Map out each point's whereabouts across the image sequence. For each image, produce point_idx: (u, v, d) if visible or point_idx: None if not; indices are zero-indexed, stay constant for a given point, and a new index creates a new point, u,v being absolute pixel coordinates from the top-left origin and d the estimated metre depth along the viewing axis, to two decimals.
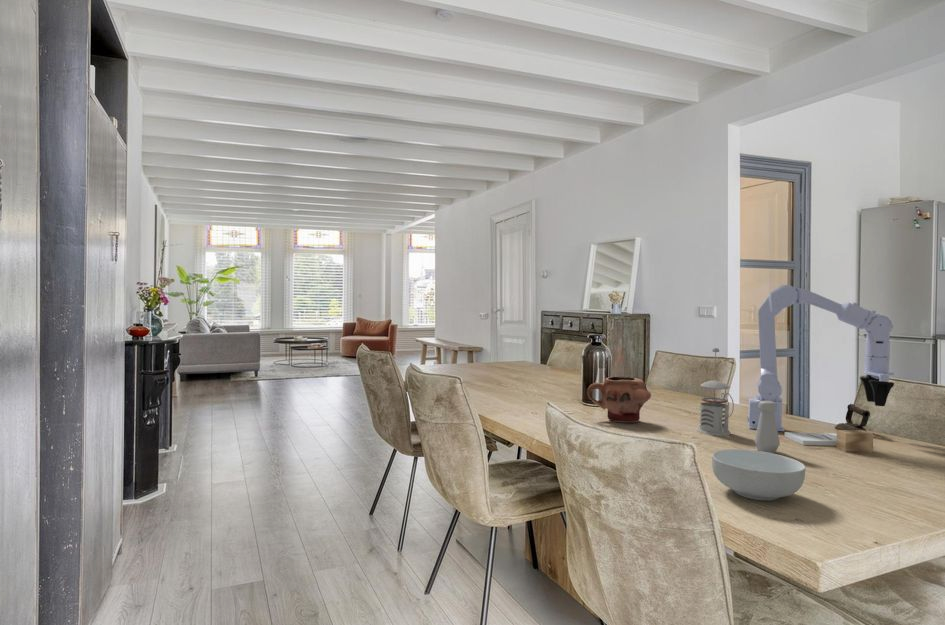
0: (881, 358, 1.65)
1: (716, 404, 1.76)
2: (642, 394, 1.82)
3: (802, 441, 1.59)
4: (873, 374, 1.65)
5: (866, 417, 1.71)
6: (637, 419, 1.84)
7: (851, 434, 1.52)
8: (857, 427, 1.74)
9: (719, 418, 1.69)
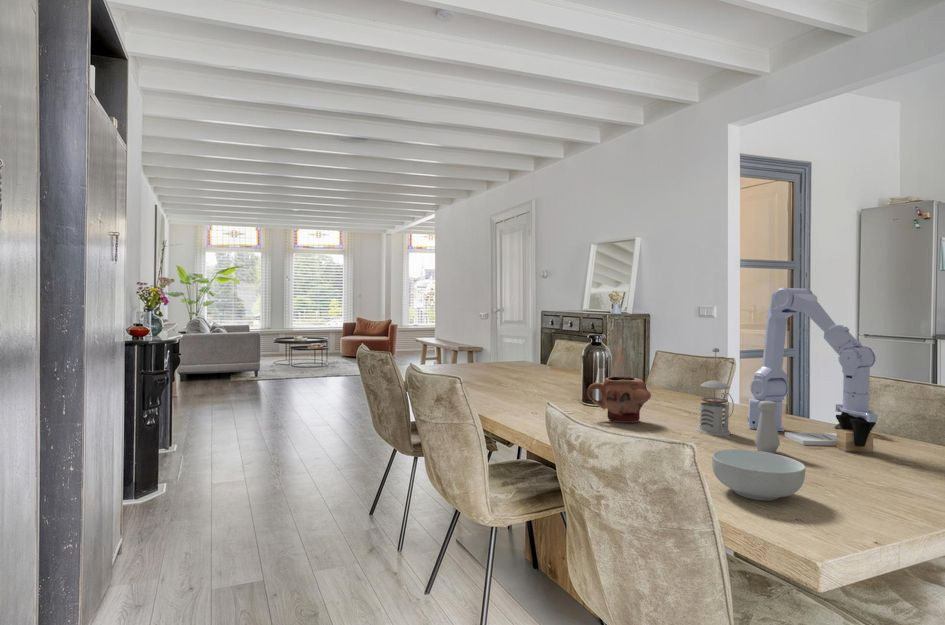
0: (863, 395, 1.51)
1: (716, 404, 1.76)
2: (642, 394, 1.82)
3: (802, 441, 1.59)
4: (857, 413, 1.50)
5: None
6: (637, 419, 1.84)
7: (851, 434, 1.52)
8: None
9: (719, 418, 1.69)
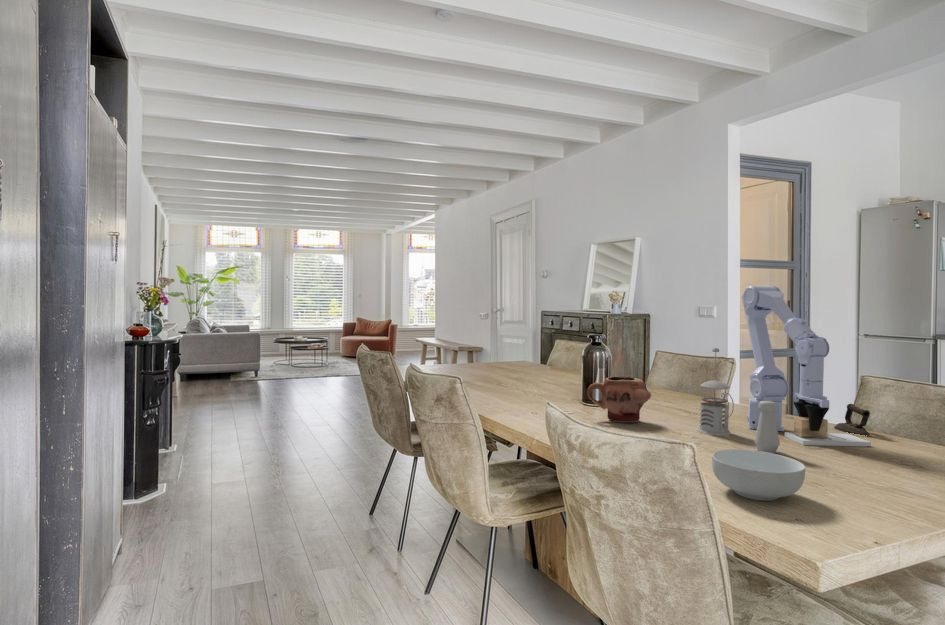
0: (818, 382, 1.60)
1: (716, 404, 1.76)
2: (642, 394, 1.82)
3: (802, 441, 1.59)
4: (812, 399, 1.59)
5: (866, 417, 1.71)
6: (637, 419, 1.84)
7: (807, 420, 1.62)
8: (857, 427, 1.74)
9: (719, 418, 1.69)
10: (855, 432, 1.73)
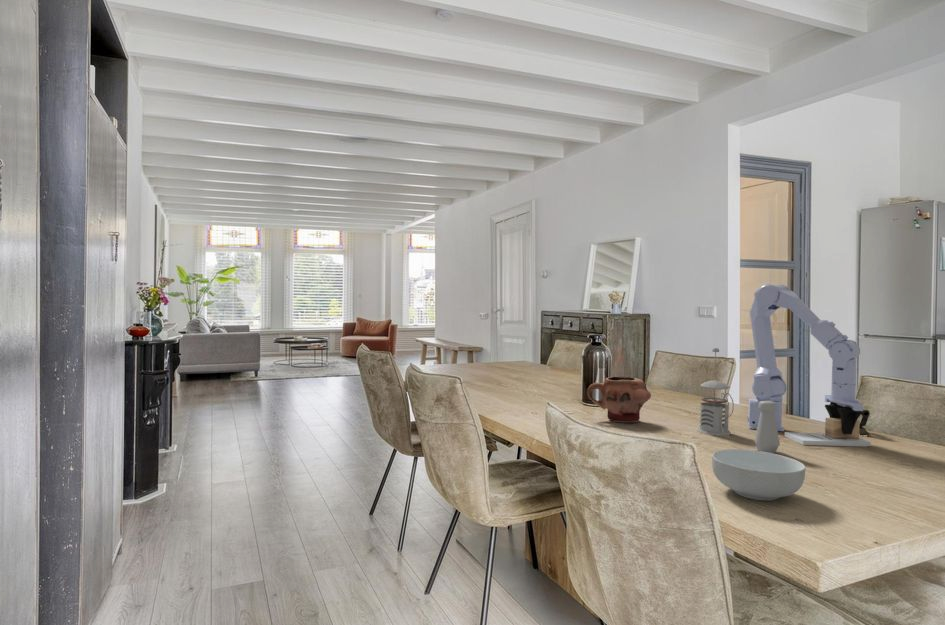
0: (850, 386, 1.60)
1: (716, 404, 1.76)
2: (642, 394, 1.82)
3: (802, 441, 1.59)
4: (845, 403, 1.59)
5: (866, 417, 1.72)
6: (637, 419, 1.84)
7: (839, 421, 1.61)
8: None
9: (719, 418, 1.69)
10: None
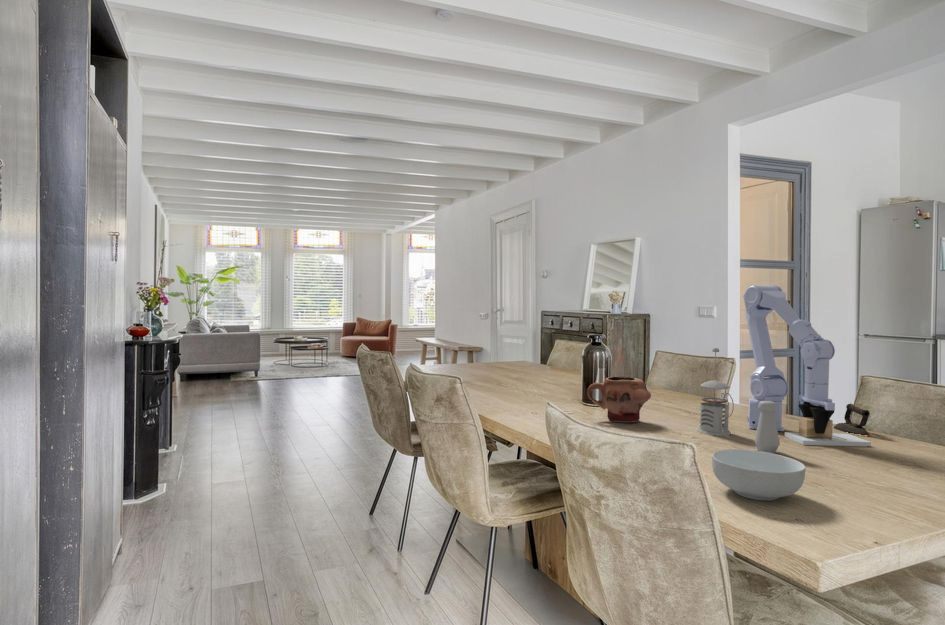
0: (823, 385, 1.60)
1: (716, 404, 1.76)
2: (642, 394, 1.82)
3: (802, 441, 1.59)
4: (817, 402, 1.59)
5: (866, 417, 1.72)
6: (637, 419, 1.84)
7: (812, 421, 1.62)
8: (857, 427, 1.74)
9: (719, 418, 1.69)
10: (855, 432, 1.73)
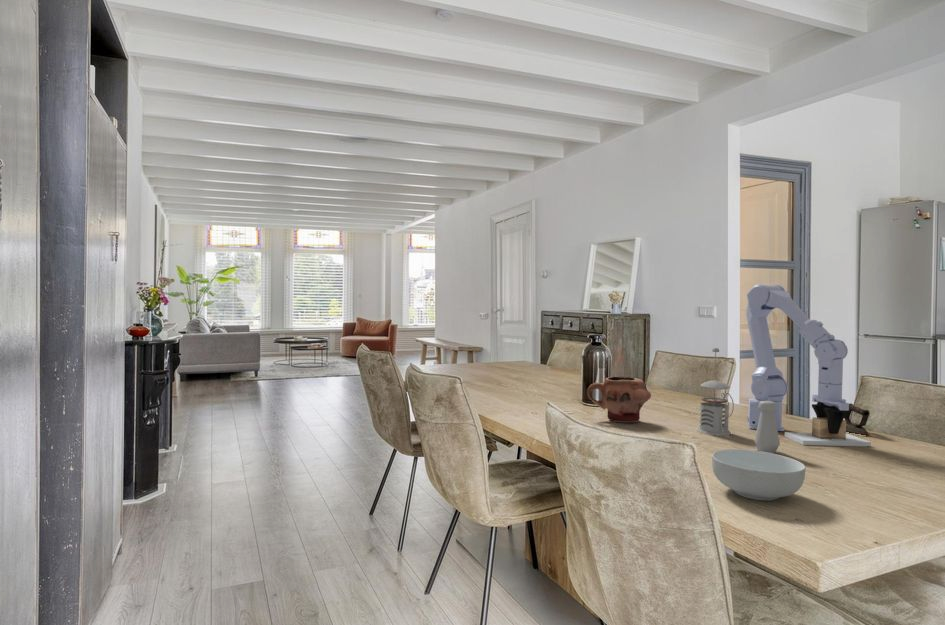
0: (837, 385, 1.60)
1: (716, 404, 1.76)
2: (642, 394, 1.82)
3: (802, 441, 1.59)
4: (831, 402, 1.59)
5: (866, 416, 1.72)
6: (637, 419, 1.84)
7: (825, 421, 1.61)
8: (857, 426, 1.74)
9: (719, 418, 1.69)
10: (855, 432, 1.73)
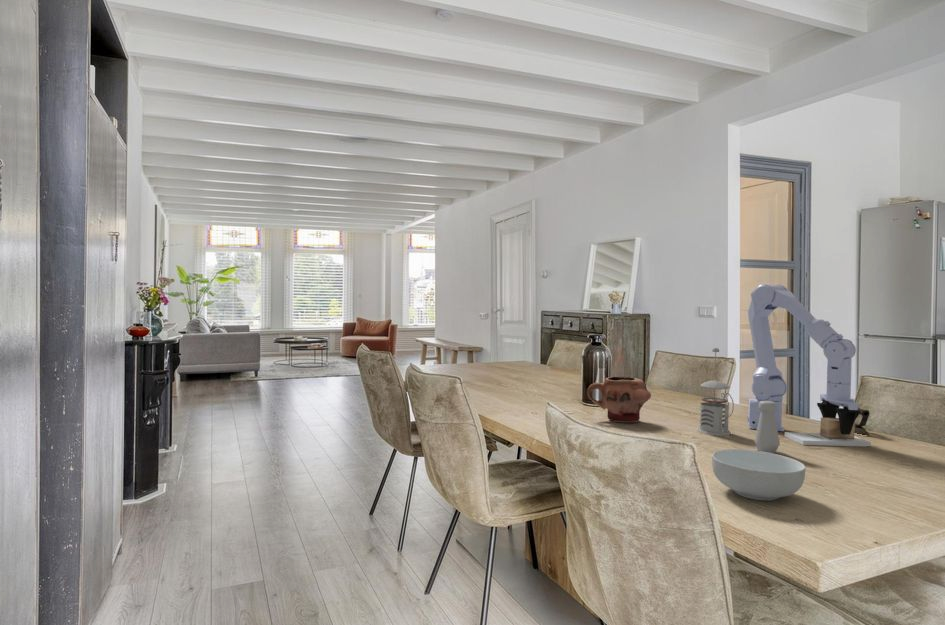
0: (845, 385, 1.60)
1: (716, 404, 1.76)
2: (642, 394, 1.82)
3: (802, 441, 1.59)
4: (840, 402, 1.59)
5: (866, 417, 1.72)
6: (637, 419, 1.84)
7: (834, 421, 1.61)
8: (856, 427, 1.74)
9: (719, 418, 1.69)
10: (855, 432, 1.73)
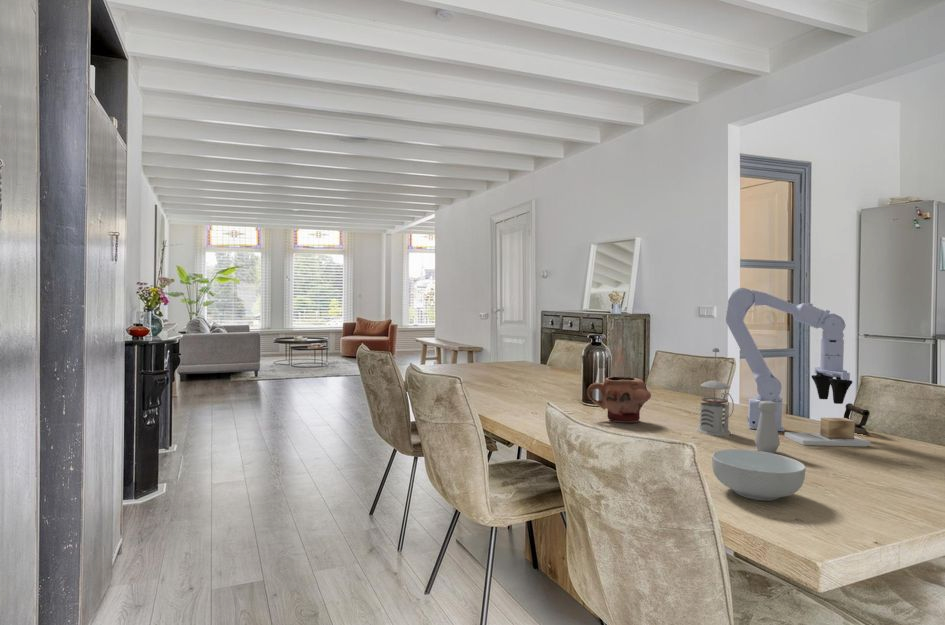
0: (838, 357, 1.68)
1: (716, 404, 1.76)
2: (642, 394, 1.82)
3: (802, 441, 1.59)
4: (833, 373, 1.68)
5: (866, 416, 1.72)
6: (637, 419, 1.84)
7: (834, 421, 1.61)
8: (856, 426, 1.75)
9: (719, 418, 1.69)
10: (855, 432, 1.73)
